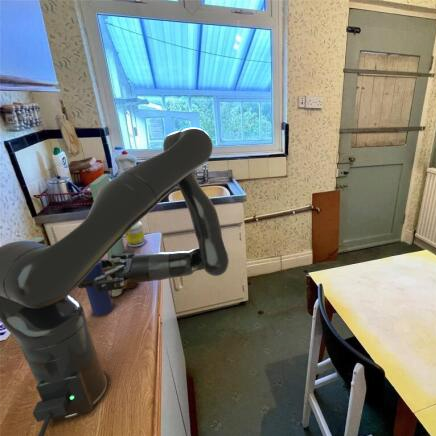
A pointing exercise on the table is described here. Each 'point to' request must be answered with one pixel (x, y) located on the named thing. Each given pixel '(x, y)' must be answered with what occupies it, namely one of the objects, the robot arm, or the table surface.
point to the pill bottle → (135, 235)
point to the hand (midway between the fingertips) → (84, 274)
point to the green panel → (95, 189)
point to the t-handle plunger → (98, 294)
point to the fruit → (127, 284)
